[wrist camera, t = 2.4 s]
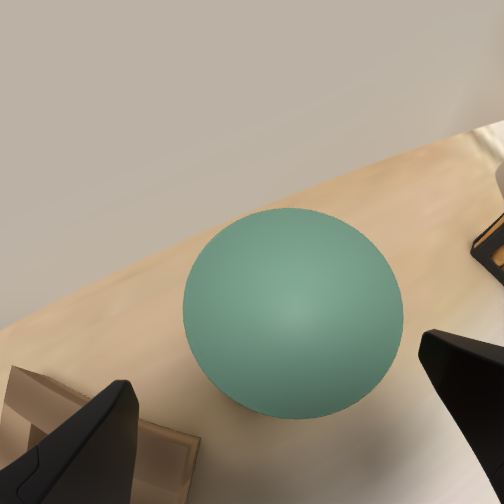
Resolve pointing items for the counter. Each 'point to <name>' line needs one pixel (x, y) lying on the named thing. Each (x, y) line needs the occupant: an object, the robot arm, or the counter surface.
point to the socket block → (69, 402)
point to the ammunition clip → (491, 249)
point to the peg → (293, 313)
